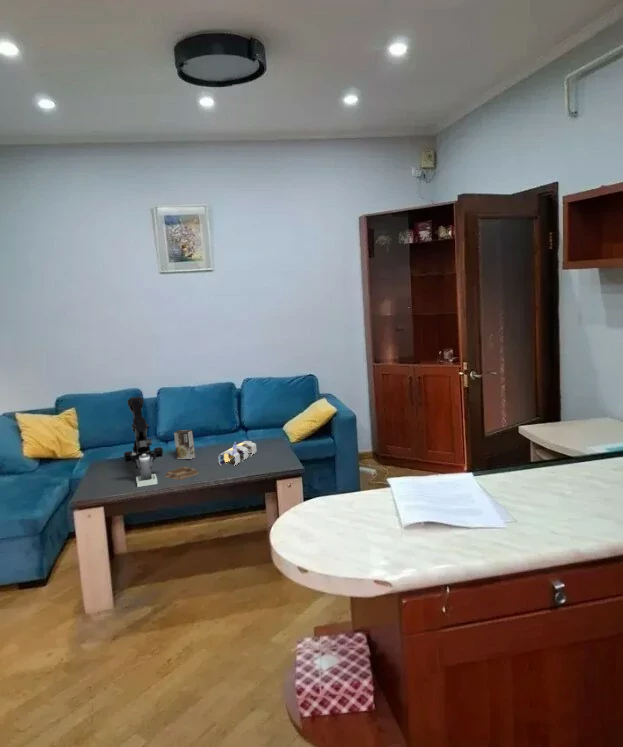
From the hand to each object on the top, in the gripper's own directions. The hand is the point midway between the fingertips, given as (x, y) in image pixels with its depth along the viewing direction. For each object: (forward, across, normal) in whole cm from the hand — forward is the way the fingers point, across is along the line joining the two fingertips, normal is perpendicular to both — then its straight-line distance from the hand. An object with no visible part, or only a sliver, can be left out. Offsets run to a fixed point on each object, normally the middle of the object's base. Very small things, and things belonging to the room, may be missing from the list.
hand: (145, 468), depth 296 cm
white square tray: (+5, 0, +7) cm, 8 cm away
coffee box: (-21, +24, +33) cm, 46 cm away
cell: (+4, 0, +6) cm, 7 cm away
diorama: (-7, +51, +20) cm, 55 cm away
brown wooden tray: (+2, +18, +10) cm, 20 cm away
